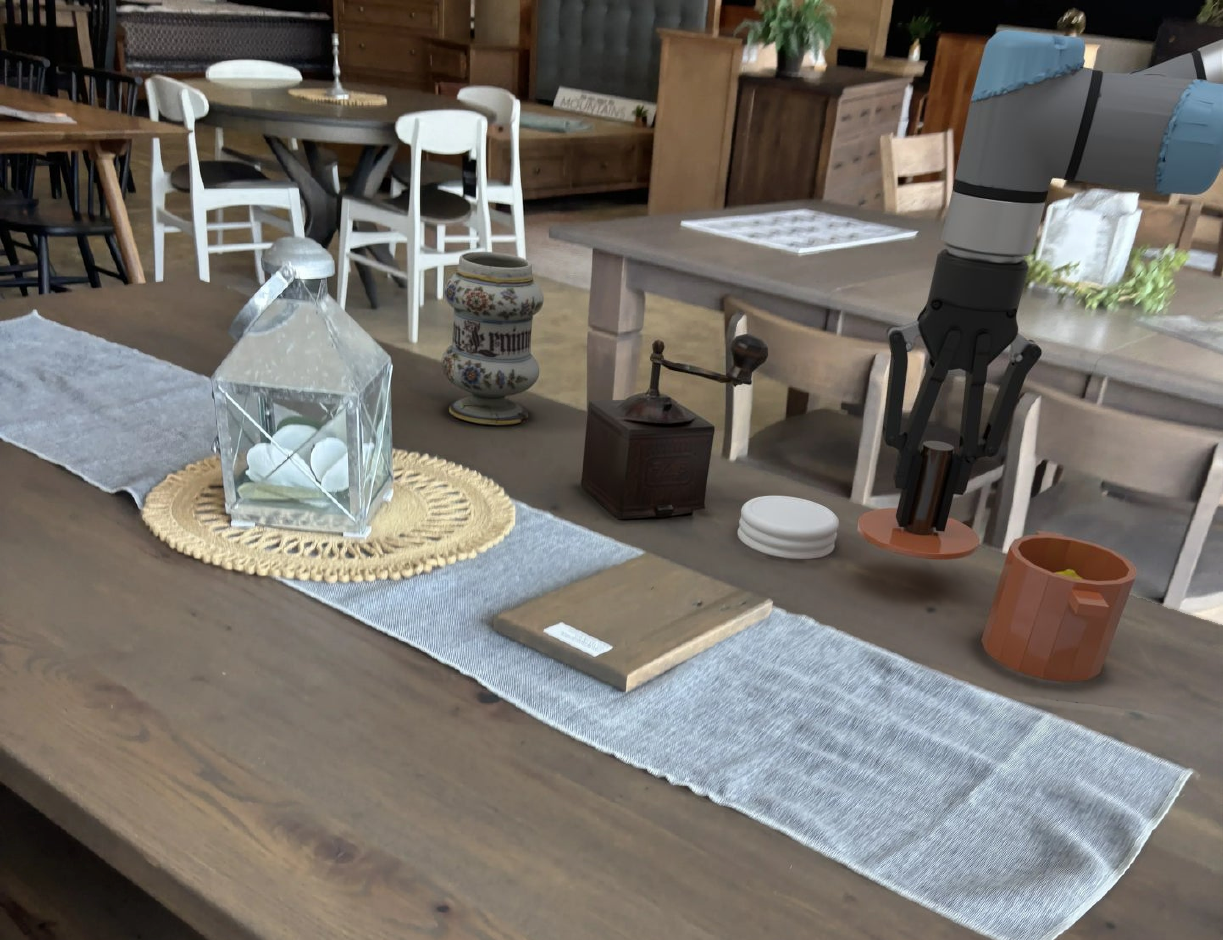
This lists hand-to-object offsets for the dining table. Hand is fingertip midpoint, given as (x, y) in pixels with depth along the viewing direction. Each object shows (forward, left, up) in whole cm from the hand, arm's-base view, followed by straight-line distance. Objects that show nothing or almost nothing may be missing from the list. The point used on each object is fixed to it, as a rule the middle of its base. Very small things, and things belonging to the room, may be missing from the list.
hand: (919, 523), depth 113 cm
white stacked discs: (+11, -8, -7) cm, 15 cm away
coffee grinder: (+24, -17, -7) cm, 30 cm away
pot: (-11, +12, -7) cm, 17 cm away
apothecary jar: (+47, -40, -7) cm, 62 cm away
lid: (0, 0, -1) cm, 1 cm away
